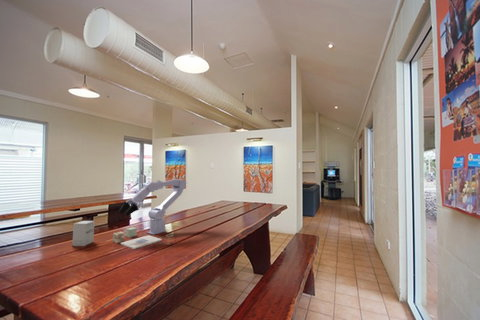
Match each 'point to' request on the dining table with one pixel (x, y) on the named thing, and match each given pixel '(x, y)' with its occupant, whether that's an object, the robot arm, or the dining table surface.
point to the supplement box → (83, 233)
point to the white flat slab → (140, 242)
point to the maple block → (118, 237)
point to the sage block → (131, 232)
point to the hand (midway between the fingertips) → (122, 213)
